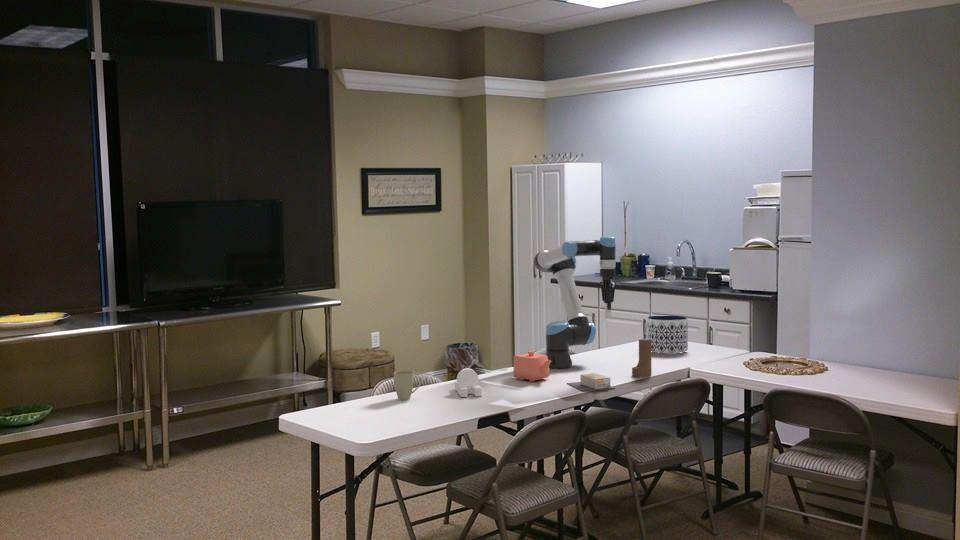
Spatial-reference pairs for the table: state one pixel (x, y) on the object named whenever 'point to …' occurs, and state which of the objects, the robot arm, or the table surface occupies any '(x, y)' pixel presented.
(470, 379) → the tape dispenser
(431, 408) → the table surface
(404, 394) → the mug
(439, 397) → the table surface
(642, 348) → the wooden block
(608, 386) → the supplement box
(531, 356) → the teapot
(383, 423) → the table surface
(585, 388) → the mat
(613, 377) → the table surface
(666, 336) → the planter
